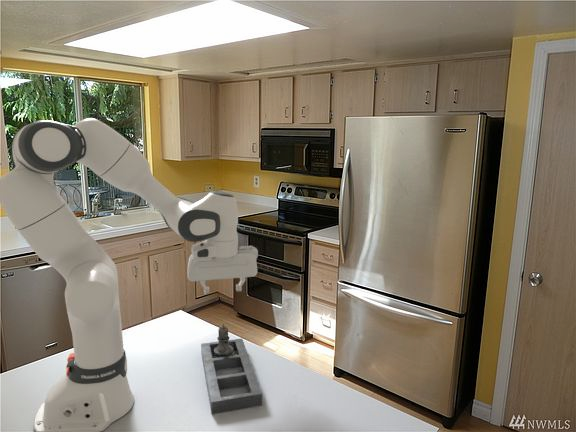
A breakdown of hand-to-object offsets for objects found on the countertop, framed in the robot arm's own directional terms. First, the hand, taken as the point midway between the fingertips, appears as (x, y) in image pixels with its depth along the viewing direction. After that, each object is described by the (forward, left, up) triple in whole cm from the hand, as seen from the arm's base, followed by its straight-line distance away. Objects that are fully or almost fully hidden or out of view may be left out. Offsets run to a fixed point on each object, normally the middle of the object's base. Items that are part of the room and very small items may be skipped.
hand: (222, 292), depth 124 cm
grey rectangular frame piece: (0, -9, -22) cm, 24 cm away
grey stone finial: (0, 0, -23) cm, 23 cm away
